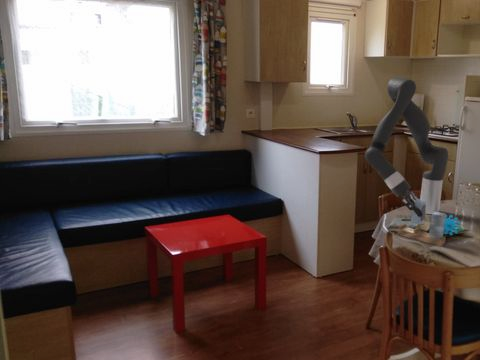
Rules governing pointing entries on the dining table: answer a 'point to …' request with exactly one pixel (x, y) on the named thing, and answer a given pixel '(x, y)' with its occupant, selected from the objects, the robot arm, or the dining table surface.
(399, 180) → the robot arm
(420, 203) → the light grey block
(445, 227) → the gear
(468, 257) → the dining table surface
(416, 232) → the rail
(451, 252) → the dining table surface
